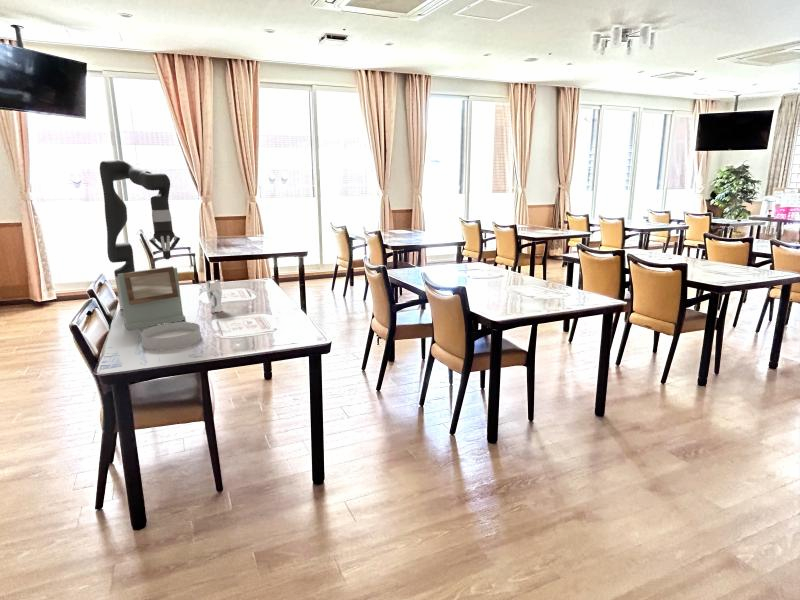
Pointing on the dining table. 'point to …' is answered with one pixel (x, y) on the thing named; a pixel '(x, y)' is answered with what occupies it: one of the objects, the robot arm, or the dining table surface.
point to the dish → (171, 335)
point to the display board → (150, 308)
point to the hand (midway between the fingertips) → (167, 259)
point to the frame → (151, 285)
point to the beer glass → (214, 295)
